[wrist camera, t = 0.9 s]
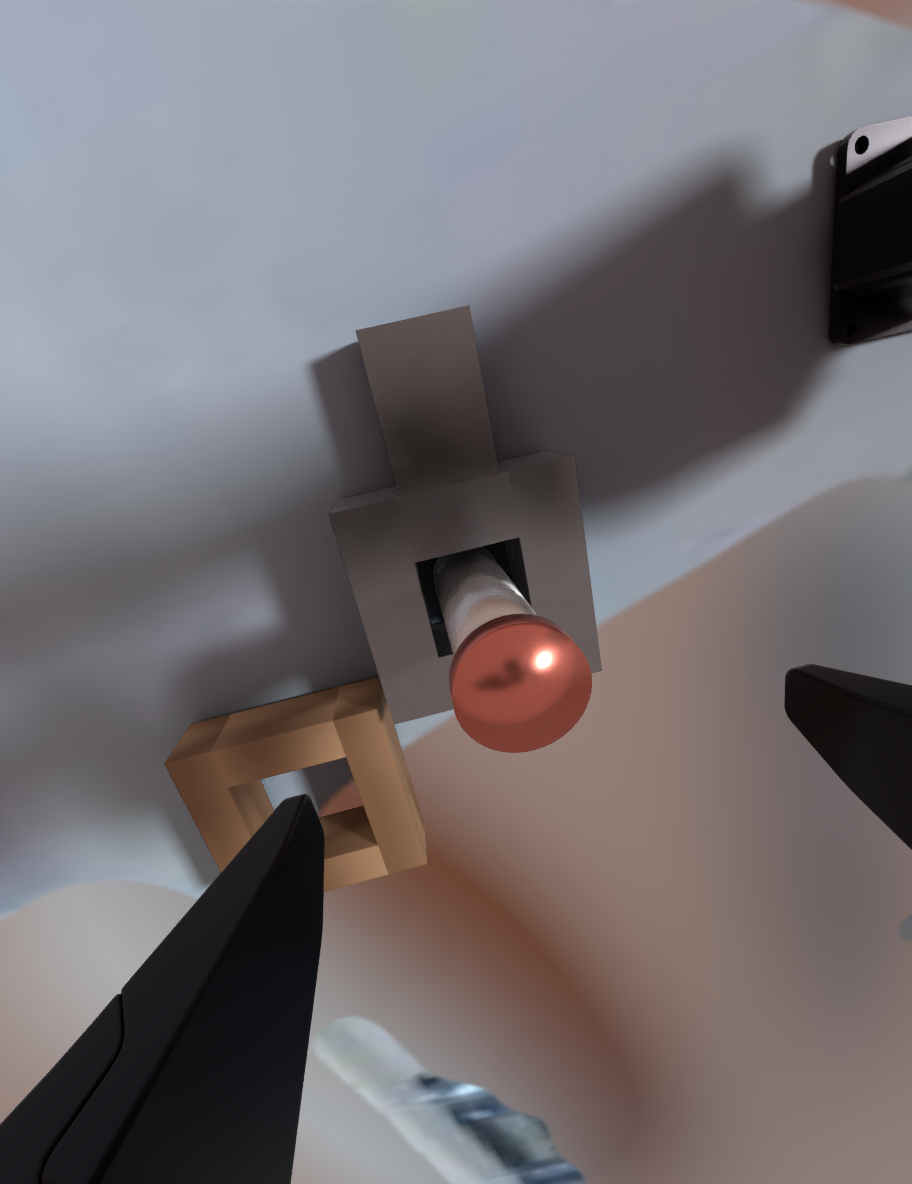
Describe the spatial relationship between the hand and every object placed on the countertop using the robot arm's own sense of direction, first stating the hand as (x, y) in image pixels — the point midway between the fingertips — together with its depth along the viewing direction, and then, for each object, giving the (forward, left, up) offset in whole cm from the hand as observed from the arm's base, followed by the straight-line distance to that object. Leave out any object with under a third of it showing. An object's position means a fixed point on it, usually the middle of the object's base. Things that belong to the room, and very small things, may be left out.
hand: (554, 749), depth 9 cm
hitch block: (0, -2, -11) cm, 12 cm away
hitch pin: (0, 0, -11) cm, 11 cm away
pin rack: (+9, +8, -11) cm, 16 cm away
